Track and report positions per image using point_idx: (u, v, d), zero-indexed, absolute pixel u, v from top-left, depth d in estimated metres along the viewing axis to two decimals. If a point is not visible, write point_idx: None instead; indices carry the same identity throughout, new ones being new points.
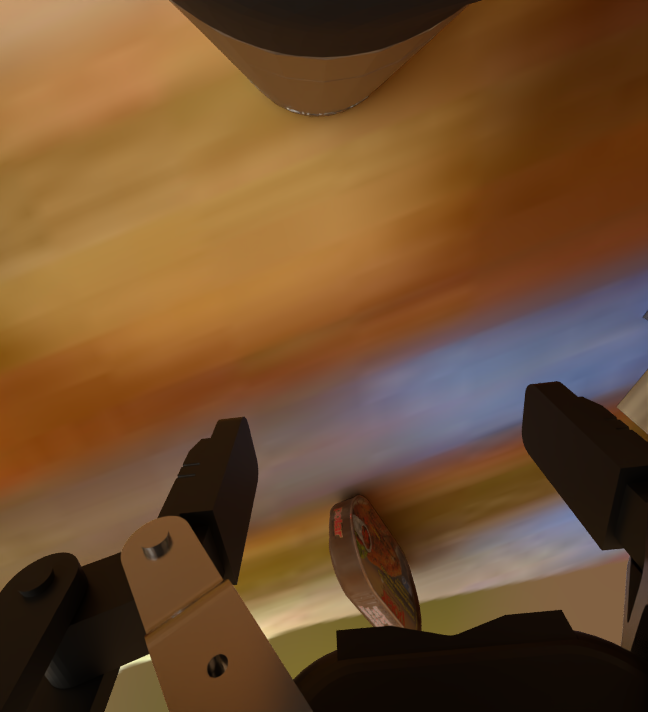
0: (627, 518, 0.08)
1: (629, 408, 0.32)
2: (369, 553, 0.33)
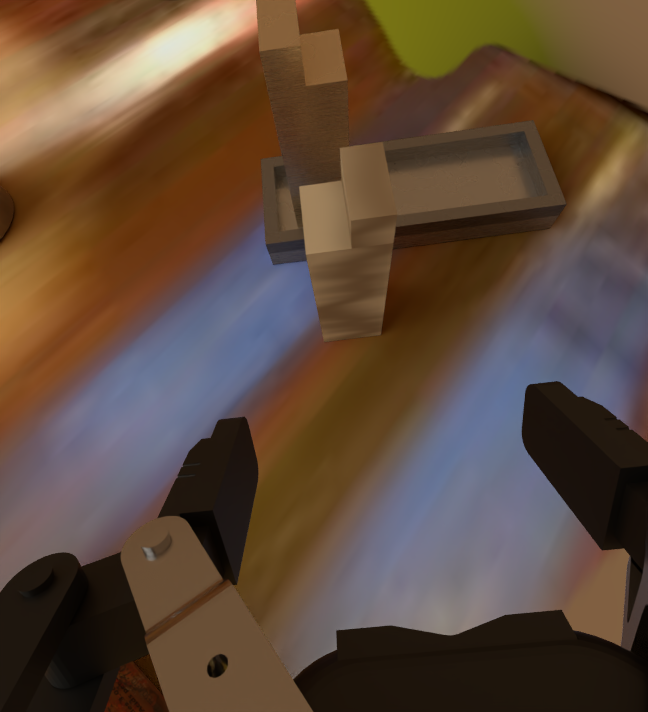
0: (627, 518, 0.08)
1: None
2: None
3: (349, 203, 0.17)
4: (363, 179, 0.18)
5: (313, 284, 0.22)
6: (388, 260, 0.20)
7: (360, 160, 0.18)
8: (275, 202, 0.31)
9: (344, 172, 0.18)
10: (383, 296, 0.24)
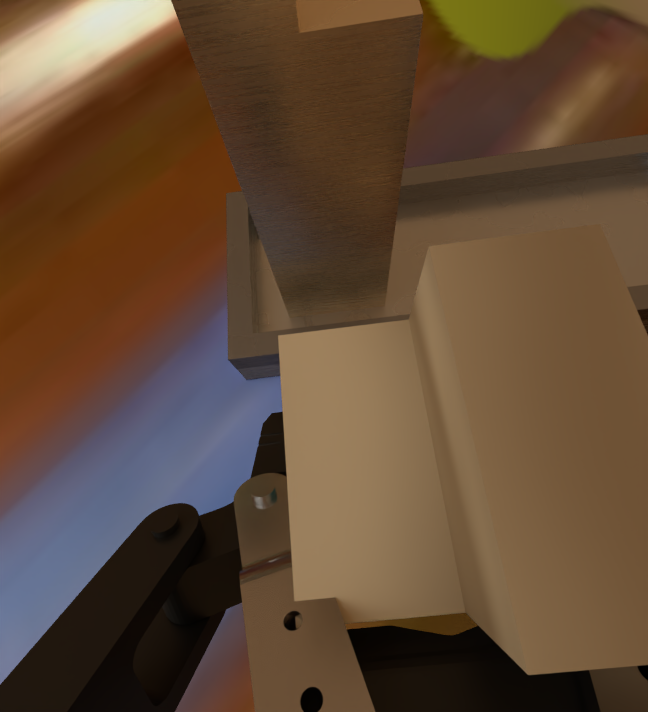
0: None
1: None
2: None
3: (505, 549, 0.04)
4: (550, 403, 0.04)
5: None
6: None
7: (523, 305, 0.04)
8: (249, 274, 0.17)
9: (459, 362, 0.04)
10: None
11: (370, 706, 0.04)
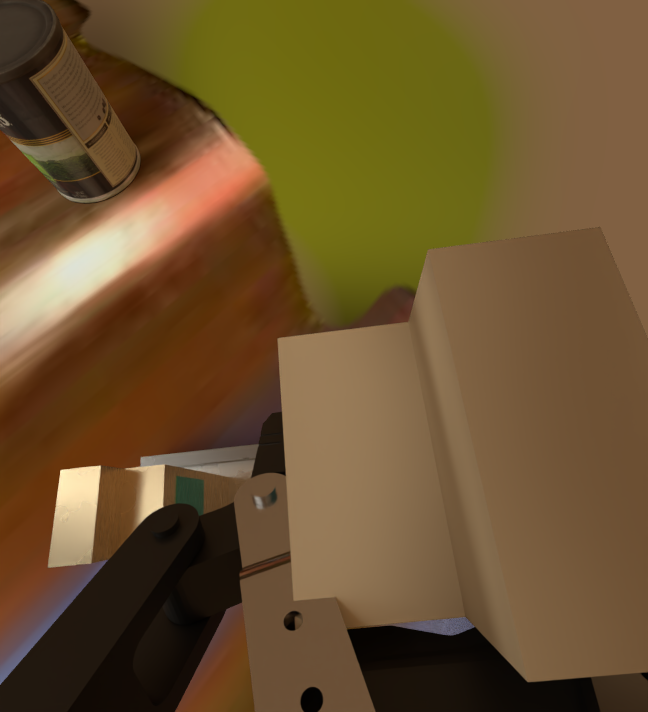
0: None
1: None
2: None
3: (505, 555, 0.04)
4: (551, 408, 0.04)
5: None
6: None
7: (523, 309, 0.04)
8: None
9: (459, 366, 0.04)
10: None
11: (370, 706, 0.04)
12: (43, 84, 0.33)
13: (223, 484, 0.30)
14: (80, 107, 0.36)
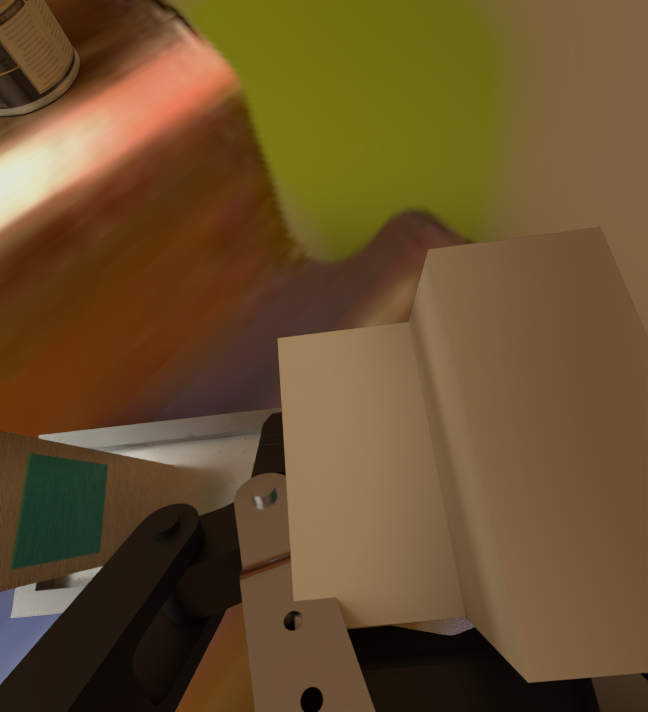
0: None
1: None
2: None
3: (505, 556, 0.04)
4: (551, 409, 0.04)
5: None
6: None
7: (524, 309, 0.04)
8: None
9: (459, 367, 0.04)
10: None
11: (370, 707, 0.04)
12: None
13: (155, 474, 0.20)
14: None
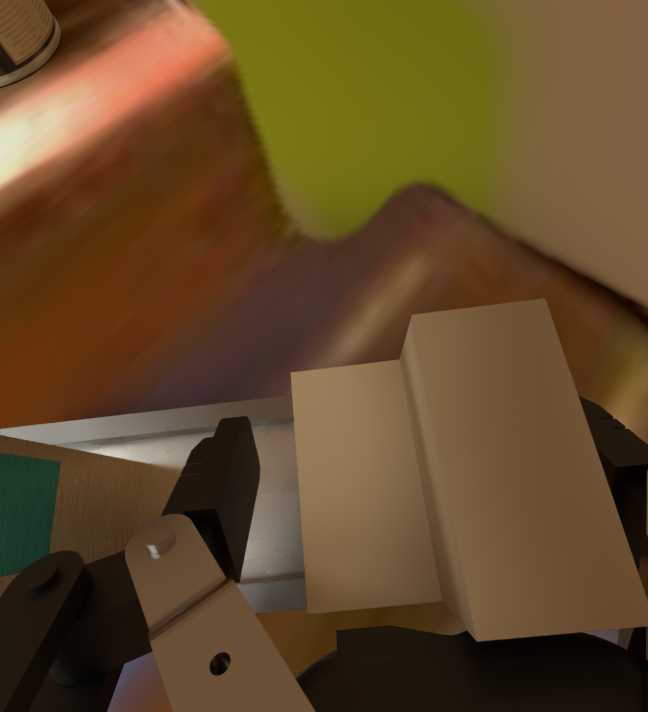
0: (622, 516, 0.08)
1: None
2: None
3: (463, 552, 0.05)
4: (501, 443, 0.05)
5: None
6: None
7: (483, 364, 0.06)
8: None
9: (433, 410, 0.06)
10: None
11: None
12: None
13: (126, 474, 0.17)
14: None
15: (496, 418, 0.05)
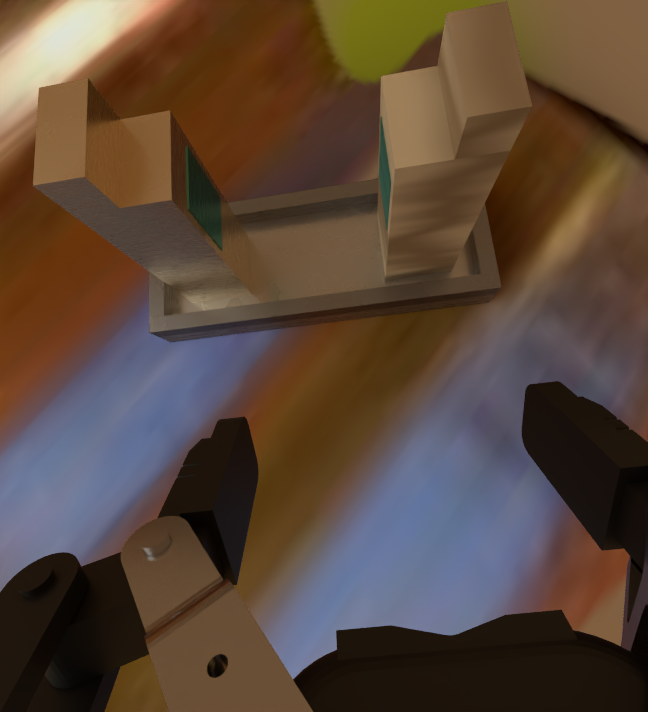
0: (627, 518, 0.08)
1: (384, 266, 0.25)
2: None
3: (464, 92, 0.13)
4: (482, 57, 0.13)
5: (392, 209, 0.18)
6: (495, 175, 0.16)
7: (477, 29, 0.13)
8: None
9: (455, 48, 0.13)
10: (471, 224, 0.19)
11: None
12: None
13: (243, 235, 0.26)
14: None
15: (480, 48, 0.13)
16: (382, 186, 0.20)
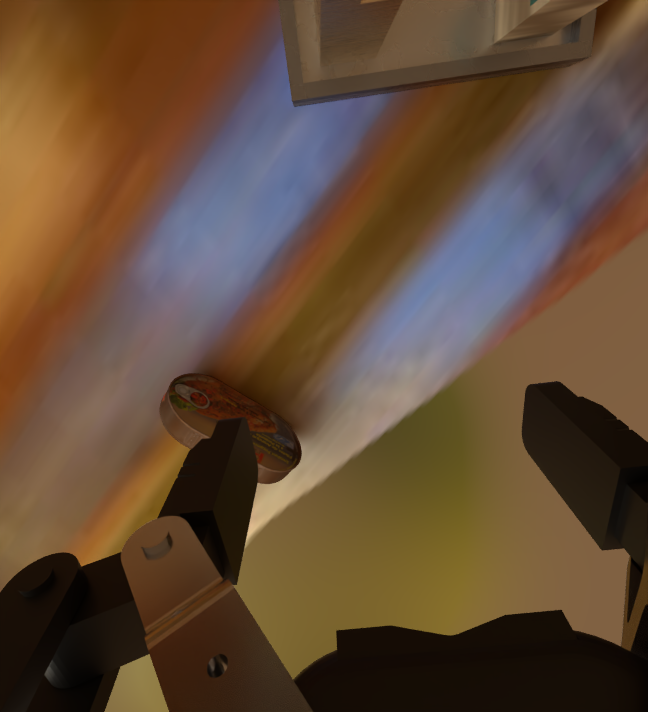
0: (627, 518, 0.08)
1: (499, 30, 0.28)
2: (202, 409, 0.38)
3: None
4: None
5: None
6: None
7: None
8: (296, 36, 0.28)
9: None
10: (600, 3, 0.24)
11: None
12: None
13: None
14: None
15: None
16: None
